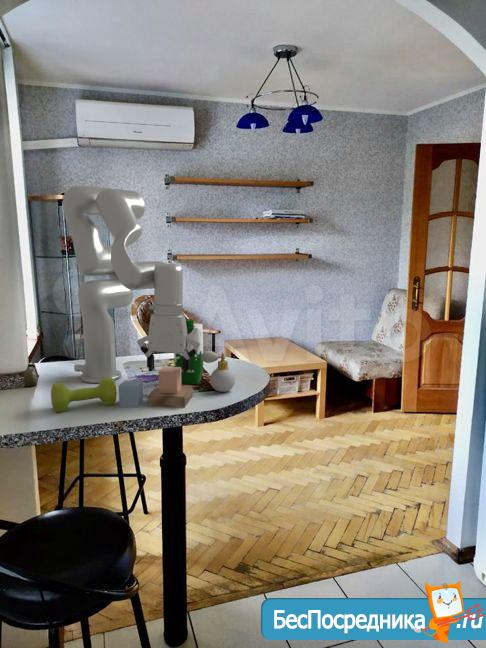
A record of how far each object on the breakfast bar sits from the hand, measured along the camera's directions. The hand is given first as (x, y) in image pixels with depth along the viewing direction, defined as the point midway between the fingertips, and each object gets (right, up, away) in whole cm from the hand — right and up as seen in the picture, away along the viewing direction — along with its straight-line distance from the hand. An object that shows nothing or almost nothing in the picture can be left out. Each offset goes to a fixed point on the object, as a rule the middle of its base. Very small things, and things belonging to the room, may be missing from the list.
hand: (168, 371), depth 131 cm
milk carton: (+4, -5, +19) cm, 21 cm away
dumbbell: (-22, -10, -4) cm, 24 cm away
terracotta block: (+1, -5, 0) cm, 5 cm away
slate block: (-10, -9, -2) cm, 13 cm away
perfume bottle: (+14, -7, +10) cm, 18 cm away
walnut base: (+1, -8, +1) cm, 8 cm away
